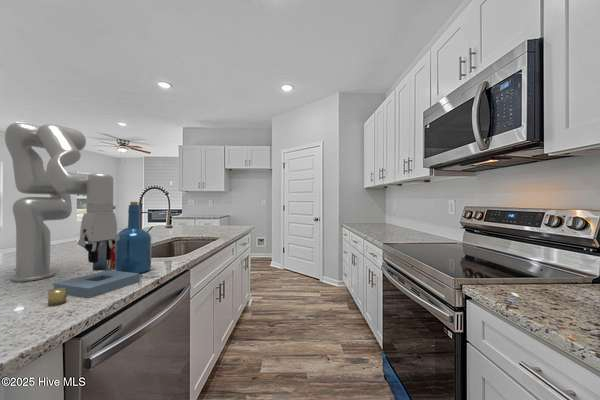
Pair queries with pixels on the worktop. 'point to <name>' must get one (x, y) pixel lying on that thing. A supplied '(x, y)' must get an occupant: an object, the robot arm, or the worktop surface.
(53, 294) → the short brass pin
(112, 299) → the worktop surface
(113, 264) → the soda can
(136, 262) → the wine bottle
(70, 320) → the worktop surface
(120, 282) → the sleeve block
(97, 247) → the tall steel pin
